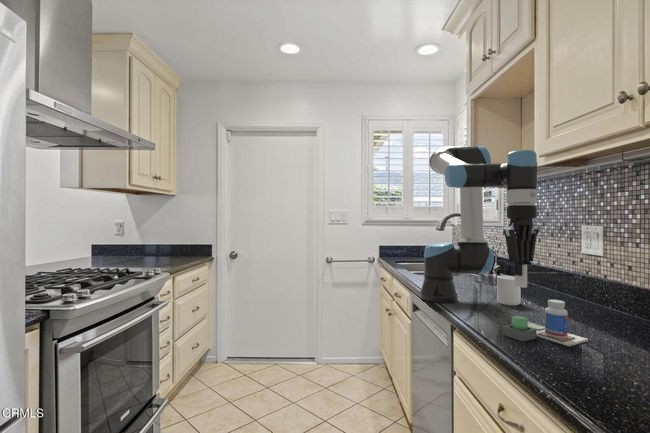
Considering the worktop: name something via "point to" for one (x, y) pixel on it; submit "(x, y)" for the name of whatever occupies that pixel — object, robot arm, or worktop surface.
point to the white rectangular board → (567, 341)
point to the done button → (520, 323)
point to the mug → (508, 290)
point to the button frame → (519, 333)
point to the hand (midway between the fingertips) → (521, 286)
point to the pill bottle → (556, 319)
